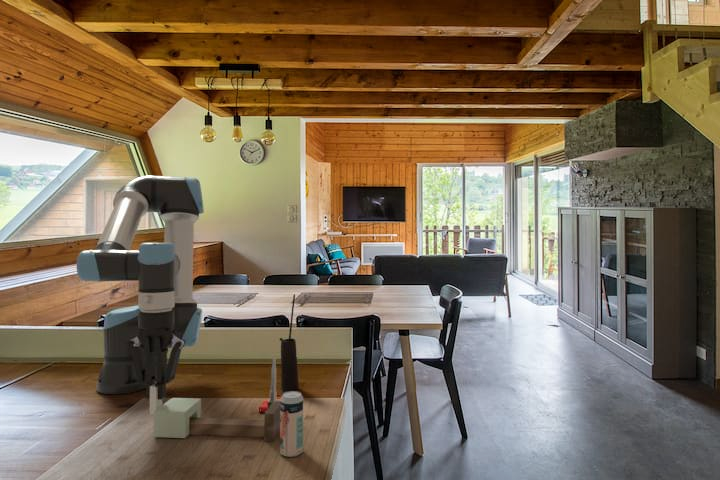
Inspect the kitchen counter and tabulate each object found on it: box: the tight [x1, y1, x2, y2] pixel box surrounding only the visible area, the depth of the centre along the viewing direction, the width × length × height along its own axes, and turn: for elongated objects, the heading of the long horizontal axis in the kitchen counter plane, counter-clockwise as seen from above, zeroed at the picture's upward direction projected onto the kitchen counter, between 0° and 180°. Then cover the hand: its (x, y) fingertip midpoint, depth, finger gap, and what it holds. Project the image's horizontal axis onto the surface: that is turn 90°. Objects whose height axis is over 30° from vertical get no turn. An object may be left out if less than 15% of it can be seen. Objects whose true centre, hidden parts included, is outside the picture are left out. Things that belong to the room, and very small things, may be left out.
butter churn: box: [279, 294, 300, 393], centre depth 126 cm, size 9×10×28 cm
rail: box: [189, 402, 280, 443], centre depth 98 cm, size 27×7×6 cm, turn 86°
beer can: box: [279, 390, 304, 458], centre depth 89 cm, size 5×5×12 cm
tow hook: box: [258, 356, 282, 412], centre depth 113 cm, size 9×14×10 cm
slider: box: [153, 397, 202, 439], centre depth 98 cm, size 7×8×6 cm
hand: (156, 412), depth 99 cm, fingers closed
